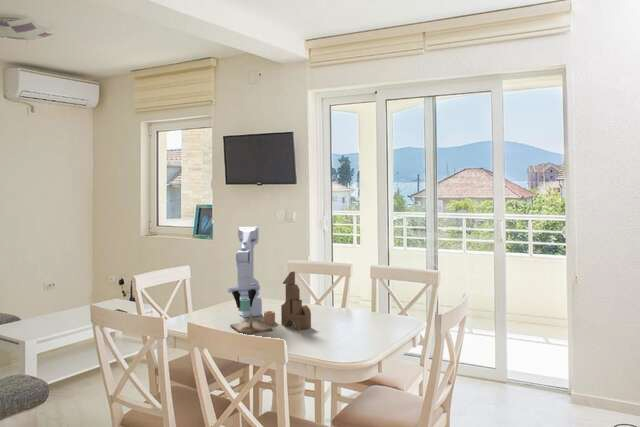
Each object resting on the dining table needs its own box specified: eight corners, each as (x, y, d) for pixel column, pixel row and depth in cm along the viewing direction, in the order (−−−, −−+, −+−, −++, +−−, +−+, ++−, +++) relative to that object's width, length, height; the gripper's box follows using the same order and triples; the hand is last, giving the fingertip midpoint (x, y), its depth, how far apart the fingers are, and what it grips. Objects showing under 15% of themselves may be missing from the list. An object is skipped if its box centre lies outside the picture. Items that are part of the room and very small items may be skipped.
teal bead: (247, 308, 227) (247, 297, 227) (251, 310, 223) (251, 299, 223) (237, 309, 225) (237, 298, 225) (240, 312, 221) (240, 300, 220)
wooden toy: (312, 327, 221) (311, 272, 221) (300, 330, 217) (299, 273, 216) (290, 321, 233) (289, 268, 232) (279, 324, 228) (278, 270, 228)
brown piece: (259, 322, 232) (259, 308, 231) (272, 330, 217) (272, 315, 217) (230, 326, 225) (230, 312, 225) (242, 334, 211) (241, 319, 211)
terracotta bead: (270, 320, 234) (269, 310, 234) (277, 322, 231) (277, 312, 231) (262, 323, 231) (261, 312, 230) (269, 324, 227) (269, 313, 227)
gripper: (231, 279, 217) (231, 310, 217) (262, 276, 223) (262, 306, 224) (226, 277, 223) (226, 307, 223) (256, 274, 230) (257, 304, 230)
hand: (244, 307), depth 224 cm, fingers closed on teal bead, 5 cm apart
